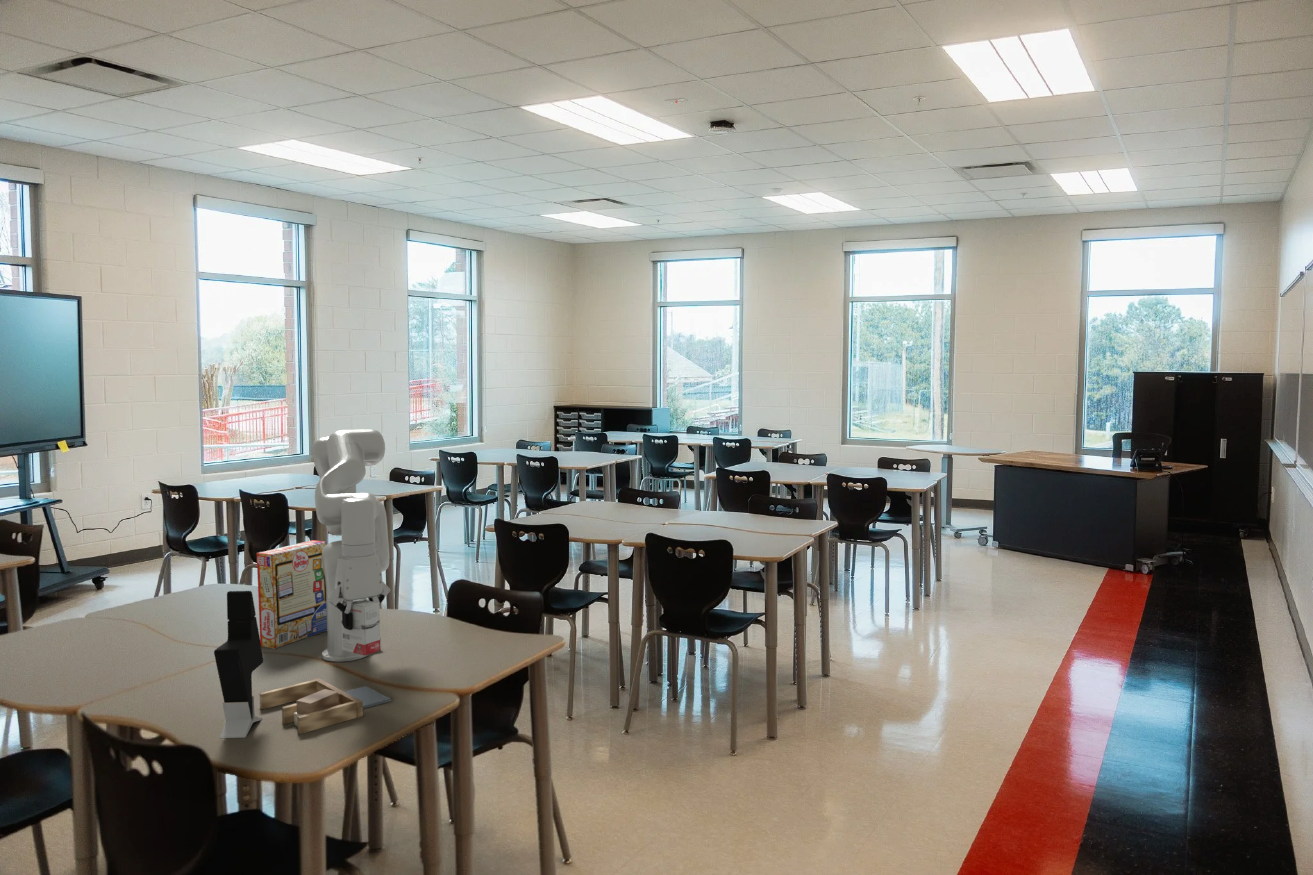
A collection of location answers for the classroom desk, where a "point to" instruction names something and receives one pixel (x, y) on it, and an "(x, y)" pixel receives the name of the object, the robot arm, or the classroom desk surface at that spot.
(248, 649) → the award
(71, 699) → the classroom desk surface
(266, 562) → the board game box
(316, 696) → the offcut
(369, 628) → the ink box
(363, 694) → the mat
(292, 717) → the rack
